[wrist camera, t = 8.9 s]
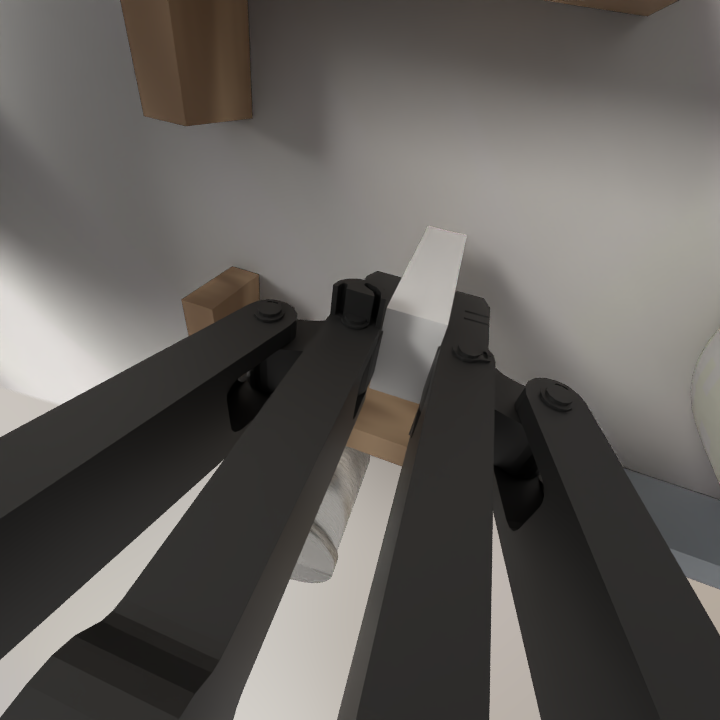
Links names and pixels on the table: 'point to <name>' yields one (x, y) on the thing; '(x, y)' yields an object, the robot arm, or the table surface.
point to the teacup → (708, 400)
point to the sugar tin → (331, 519)
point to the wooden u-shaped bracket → (234, 102)
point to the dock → (684, 525)
